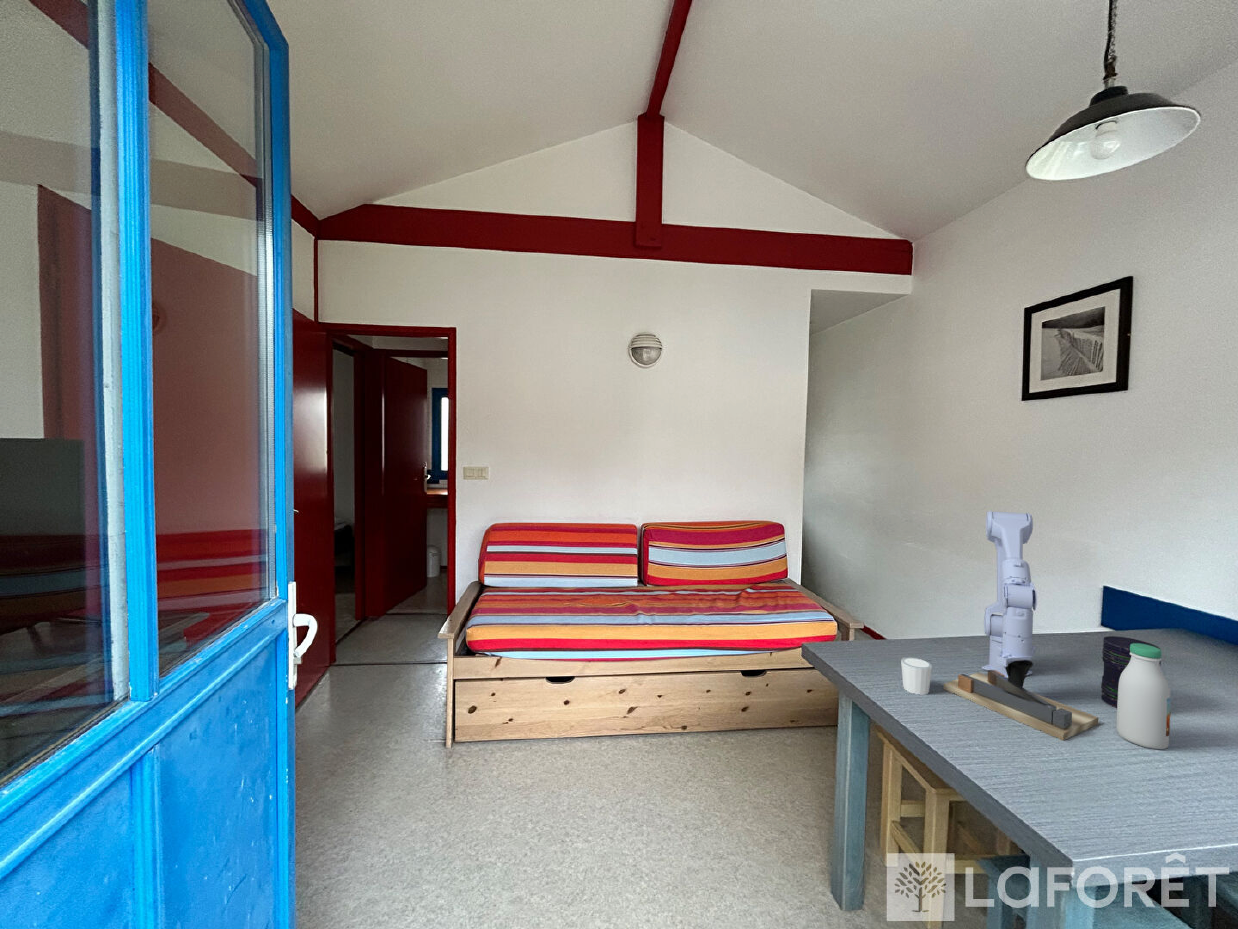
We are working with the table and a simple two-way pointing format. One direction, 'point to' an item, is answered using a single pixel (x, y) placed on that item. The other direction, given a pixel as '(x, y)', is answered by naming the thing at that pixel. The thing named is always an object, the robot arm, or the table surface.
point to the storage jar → (1115, 665)
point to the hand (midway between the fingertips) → (1015, 688)
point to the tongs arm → (1014, 688)
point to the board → (1078, 717)
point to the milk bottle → (1144, 699)
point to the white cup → (916, 675)
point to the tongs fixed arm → (1016, 702)
